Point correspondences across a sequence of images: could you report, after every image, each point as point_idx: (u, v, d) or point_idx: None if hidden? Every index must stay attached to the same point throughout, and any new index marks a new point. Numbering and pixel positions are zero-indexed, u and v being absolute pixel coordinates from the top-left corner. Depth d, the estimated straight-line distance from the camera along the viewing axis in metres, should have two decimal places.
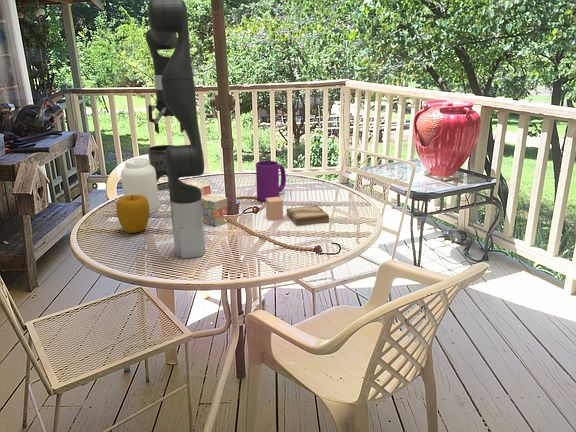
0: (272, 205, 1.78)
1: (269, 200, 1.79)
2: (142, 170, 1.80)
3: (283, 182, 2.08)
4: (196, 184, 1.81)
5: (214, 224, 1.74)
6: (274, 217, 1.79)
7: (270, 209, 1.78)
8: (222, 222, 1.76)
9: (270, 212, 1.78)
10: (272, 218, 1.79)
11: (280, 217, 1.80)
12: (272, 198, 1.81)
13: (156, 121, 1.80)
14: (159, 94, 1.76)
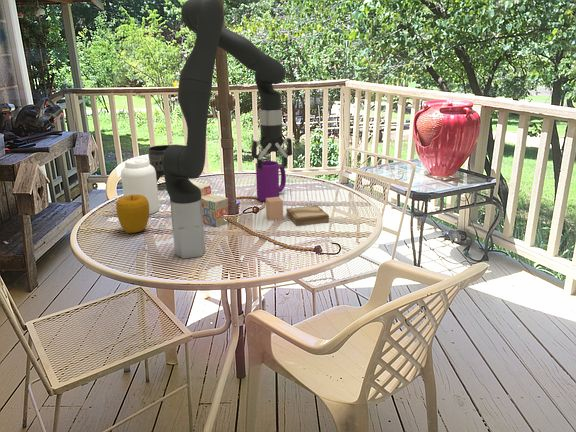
0: (272, 205, 1.78)
1: (269, 200, 1.79)
2: (142, 170, 1.80)
3: (283, 182, 2.08)
4: (196, 184, 1.81)
5: (215, 224, 1.74)
6: (274, 217, 1.79)
7: (270, 209, 1.78)
8: (223, 222, 1.76)
9: (270, 212, 1.78)
10: (272, 218, 1.79)
11: (280, 217, 1.80)
12: (272, 198, 1.81)
13: (260, 157, 1.72)
14: (266, 130, 1.68)
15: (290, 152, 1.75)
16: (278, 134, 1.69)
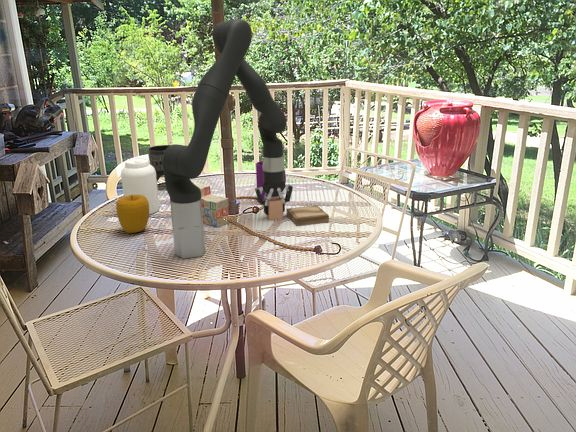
0: (272, 205, 1.78)
1: (269, 200, 1.79)
2: (141, 170, 1.80)
3: None
4: (196, 185, 1.80)
5: (216, 225, 1.73)
6: (274, 217, 1.79)
7: (270, 209, 1.78)
8: (223, 223, 1.75)
9: (270, 212, 1.78)
10: (272, 218, 1.79)
11: (280, 217, 1.80)
12: (272, 198, 1.81)
13: (266, 203, 1.78)
14: (268, 176, 1.73)
15: (288, 199, 1.80)
16: (280, 180, 1.75)
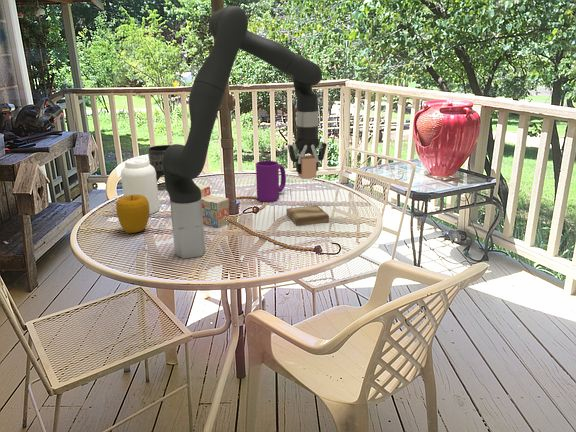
0: (305, 162, 1.71)
1: (302, 158, 1.72)
2: (141, 170, 1.80)
3: (283, 182, 2.08)
4: None
5: (217, 225, 1.73)
6: (307, 175, 1.72)
7: (303, 167, 1.71)
8: (224, 223, 1.75)
9: (303, 170, 1.71)
10: (305, 176, 1.72)
11: (313, 176, 1.73)
12: (305, 156, 1.74)
13: (300, 161, 1.71)
14: (302, 131, 1.67)
15: (322, 157, 1.73)
16: (315, 136, 1.68)
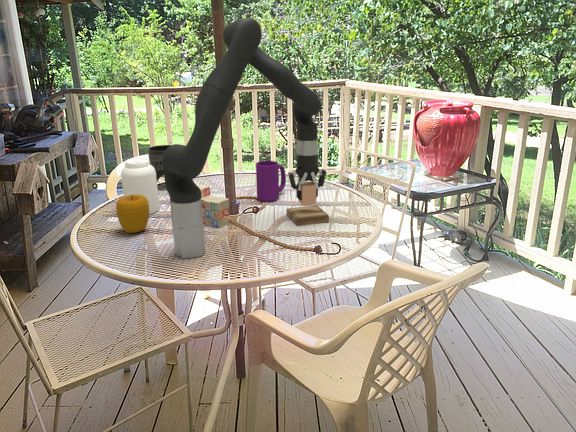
0: (305, 189, 1.74)
1: None
2: (141, 170, 1.80)
3: (283, 182, 2.08)
4: None
5: (217, 225, 1.72)
6: (307, 202, 1.76)
7: (303, 194, 1.74)
8: (225, 223, 1.75)
9: (303, 197, 1.75)
10: (305, 203, 1.76)
11: (313, 202, 1.77)
12: (305, 183, 1.77)
13: (300, 188, 1.75)
14: (302, 160, 1.70)
15: (321, 183, 1.76)
16: (314, 164, 1.71)
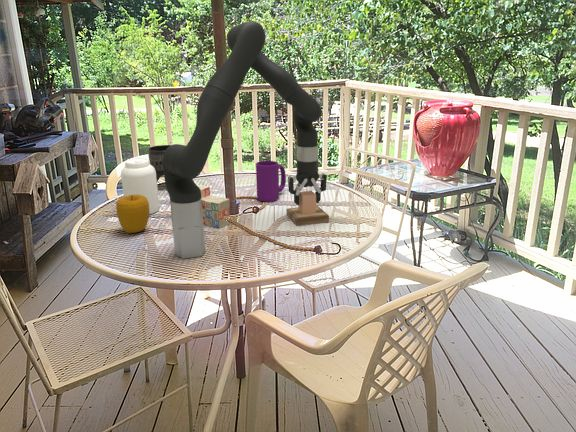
0: (305, 199, 1.75)
1: (302, 194, 1.76)
2: (142, 170, 1.80)
3: (283, 182, 2.08)
4: None
5: (218, 226, 1.72)
6: (307, 211, 1.77)
7: (303, 203, 1.75)
8: (225, 223, 1.75)
9: (303, 206, 1.76)
10: (305, 212, 1.77)
11: (313, 211, 1.78)
12: (305, 192, 1.78)
13: (297, 193, 1.75)
14: (302, 166, 1.71)
15: (324, 188, 1.77)
16: (315, 170, 1.72)
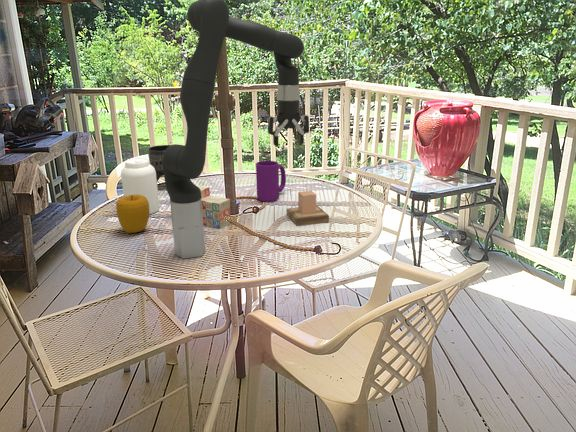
0: (305, 199, 1.75)
1: (302, 194, 1.76)
2: (142, 170, 1.80)
3: (283, 182, 2.08)
4: None
5: (219, 226, 1.72)
6: (307, 211, 1.77)
7: (303, 203, 1.75)
8: (226, 224, 1.74)
9: (303, 206, 1.76)
10: (305, 212, 1.77)
11: (313, 211, 1.78)
12: (305, 192, 1.78)
13: (276, 134, 1.70)
14: (283, 105, 1.66)
15: (307, 129, 1.72)
16: (295, 110, 1.67)
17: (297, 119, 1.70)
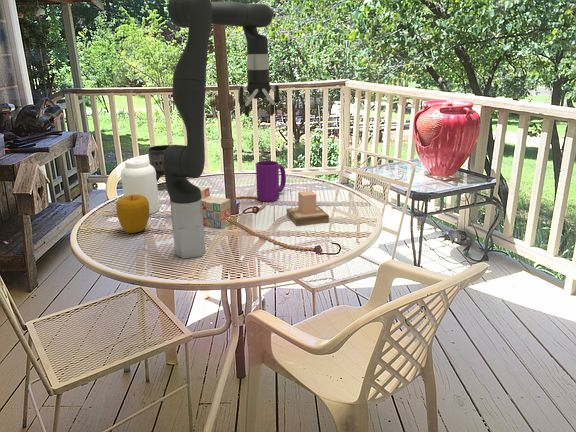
0: (305, 199, 1.75)
1: (302, 194, 1.76)
2: (141, 170, 1.80)
3: (283, 182, 2.08)
4: None
5: (220, 226, 1.72)
6: (307, 211, 1.77)
7: (303, 203, 1.75)
8: (226, 224, 1.74)
9: (303, 206, 1.76)
10: (305, 212, 1.77)
11: (313, 211, 1.78)
12: (305, 192, 1.78)
13: (247, 103, 1.71)
14: (252, 74, 1.67)
15: (277, 99, 1.73)
16: (265, 80, 1.68)
17: (267, 89, 1.71)
